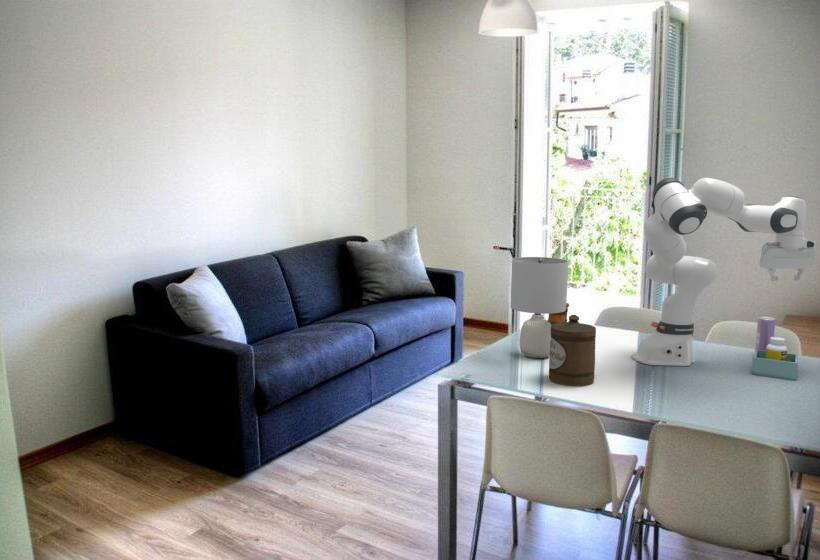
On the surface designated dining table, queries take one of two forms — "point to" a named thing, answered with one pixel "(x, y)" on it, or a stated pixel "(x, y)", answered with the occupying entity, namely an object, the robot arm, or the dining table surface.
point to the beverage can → (764, 332)
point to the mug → (558, 316)
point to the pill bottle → (776, 349)
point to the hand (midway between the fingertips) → (785, 280)
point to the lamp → (538, 299)
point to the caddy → (775, 366)
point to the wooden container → (572, 353)
